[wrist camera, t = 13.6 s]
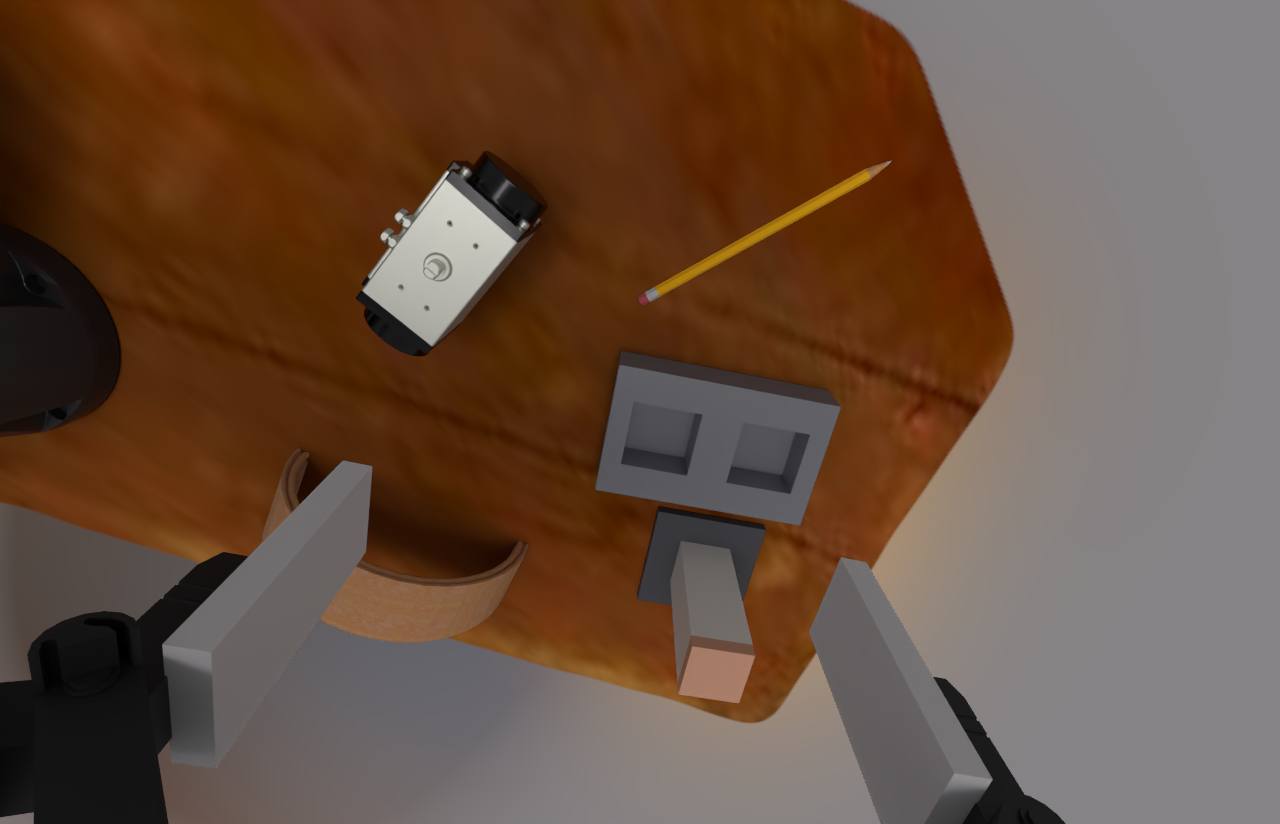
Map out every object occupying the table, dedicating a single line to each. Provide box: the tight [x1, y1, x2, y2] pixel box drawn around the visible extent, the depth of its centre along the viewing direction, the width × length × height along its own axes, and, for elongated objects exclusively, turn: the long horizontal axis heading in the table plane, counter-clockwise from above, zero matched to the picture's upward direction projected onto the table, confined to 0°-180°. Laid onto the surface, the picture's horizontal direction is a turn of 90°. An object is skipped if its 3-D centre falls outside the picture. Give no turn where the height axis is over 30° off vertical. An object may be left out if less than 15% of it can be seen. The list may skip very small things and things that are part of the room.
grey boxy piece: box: [595, 351, 841, 525], centre depth 46 cm, size 16×10×4 cm, turn 79°
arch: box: [262, 448, 530, 642], centre depth 47 cm, size 6×20×10 cm, turn 62°
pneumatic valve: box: [356, 151, 548, 356], centre depth 37 cm, size 6×12×12 cm, turn 137°
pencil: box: [637, 161, 891, 306], centre depth 42 cm, size 1×19×1 cm, turn 118°
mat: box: [637, 507, 766, 605], centre depth 52 cm, size 9×9×1 cm
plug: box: [670, 541, 755, 703], centre depth 46 cm, size 4×4×12 cm
